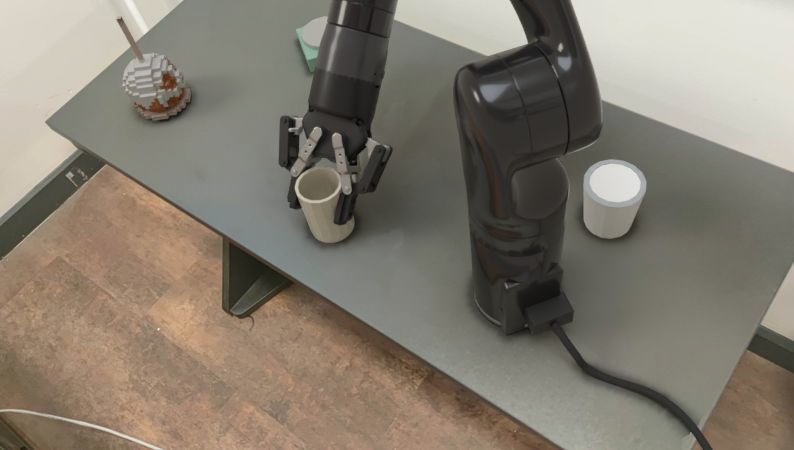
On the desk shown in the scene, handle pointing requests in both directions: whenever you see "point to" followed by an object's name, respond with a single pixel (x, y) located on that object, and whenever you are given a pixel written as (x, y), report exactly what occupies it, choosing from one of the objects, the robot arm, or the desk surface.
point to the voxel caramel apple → (153, 83)
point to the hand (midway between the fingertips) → (318, 215)
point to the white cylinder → (612, 197)
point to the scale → (312, 39)
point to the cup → (322, 203)
